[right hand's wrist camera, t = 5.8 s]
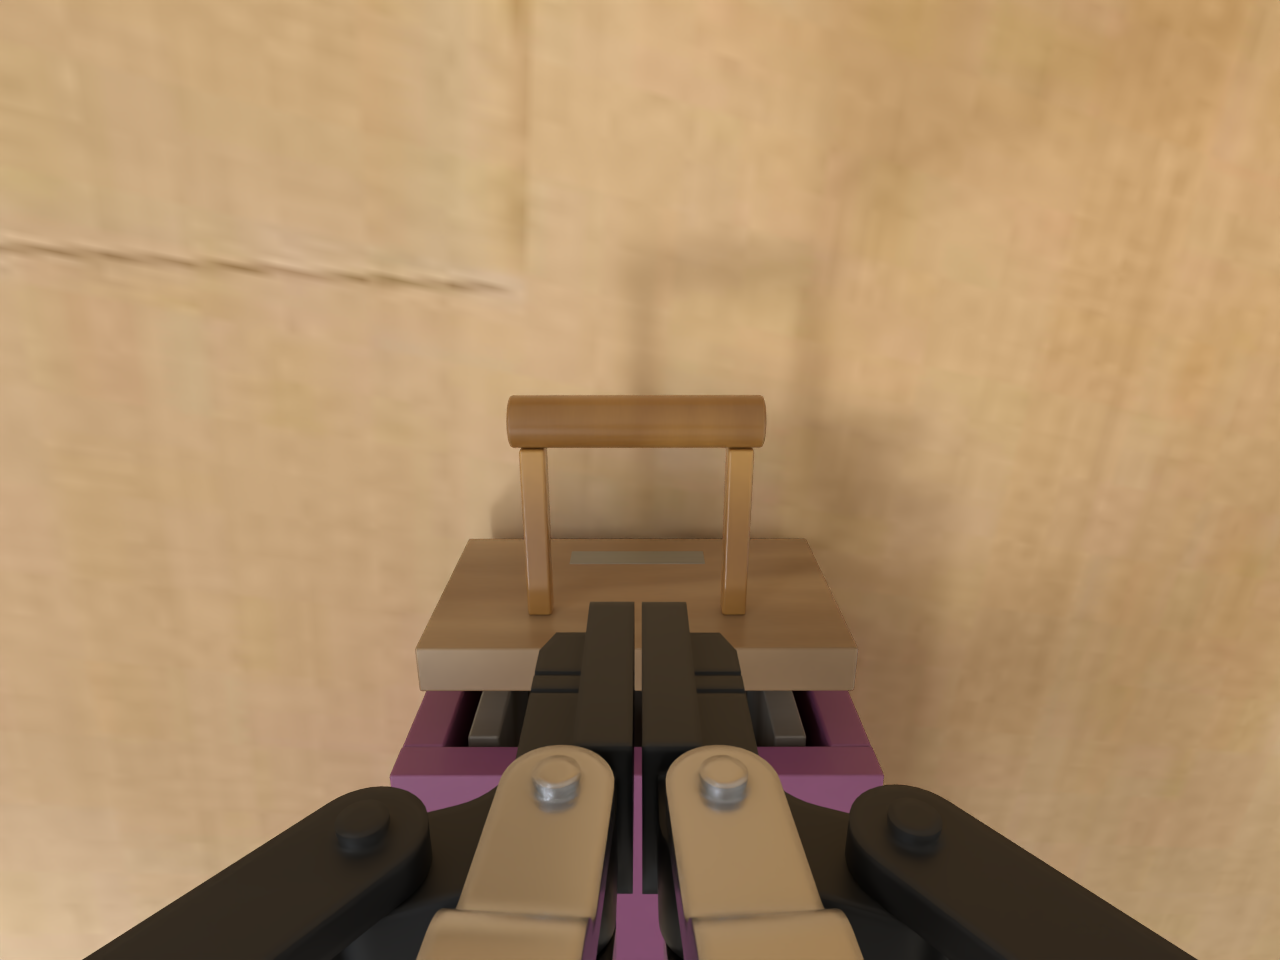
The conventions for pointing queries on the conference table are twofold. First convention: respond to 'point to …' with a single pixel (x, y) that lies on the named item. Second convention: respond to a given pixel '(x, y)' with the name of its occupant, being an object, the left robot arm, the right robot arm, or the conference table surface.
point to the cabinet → (636, 780)
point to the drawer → (636, 573)
